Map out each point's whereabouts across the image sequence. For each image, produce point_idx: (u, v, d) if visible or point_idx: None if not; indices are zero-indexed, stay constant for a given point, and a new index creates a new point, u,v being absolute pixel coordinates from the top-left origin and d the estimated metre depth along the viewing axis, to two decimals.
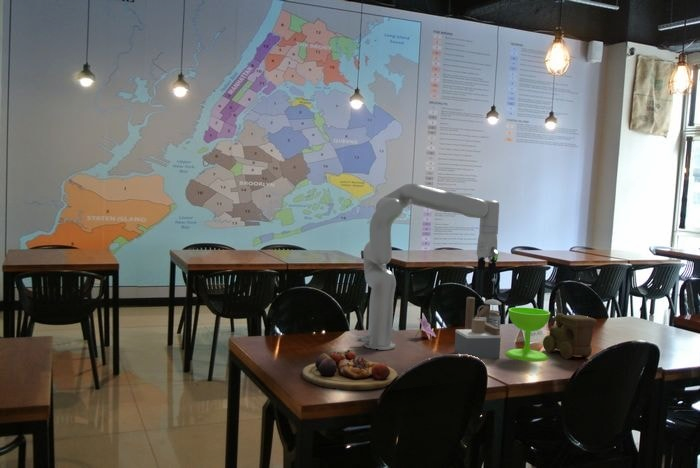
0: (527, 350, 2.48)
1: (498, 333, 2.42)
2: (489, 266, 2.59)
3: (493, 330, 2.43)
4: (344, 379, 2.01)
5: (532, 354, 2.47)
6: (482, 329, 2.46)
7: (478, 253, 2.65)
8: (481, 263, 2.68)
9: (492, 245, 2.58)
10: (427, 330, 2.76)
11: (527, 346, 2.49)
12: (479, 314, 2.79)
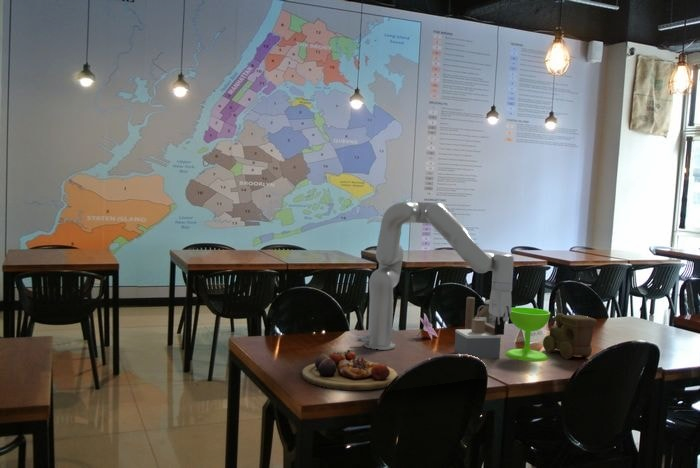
0: (527, 350, 2.48)
1: None
2: (497, 328, 2.40)
3: (493, 330, 2.44)
4: (344, 379, 2.00)
5: (532, 354, 2.47)
6: (482, 329, 2.46)
7: (490, 311, 2.42)
8: None
9: (506, 304, 2.35)
10: (429, 330, 2.76)
11: (527, 346, 2.49)
12: (479, 314, 2.79)
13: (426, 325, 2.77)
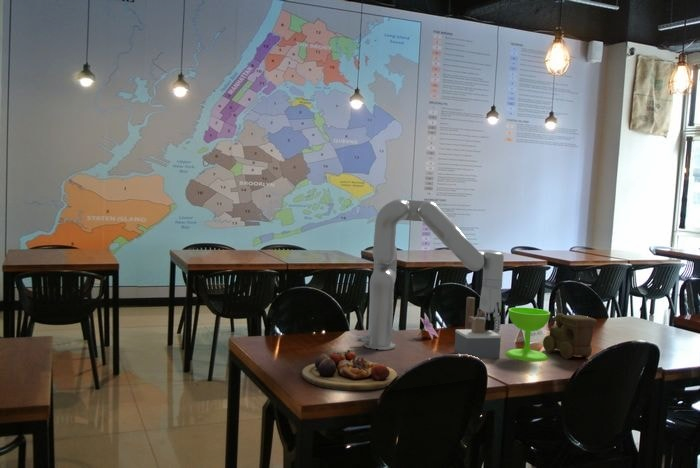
0: (527, 350, 2.48)
1: None
2: (487, 323, 2.48)
3: None
4: (343, 379, 2.00)
5: (532, 354, 2.47)
6: (482, 329, 2.46)
7: (481, 307, 2.50)
8: None
9: (496, 300, 2.43)
10: (430, 330, 2.76)
11: (527, 346, 2.49)
12: (479, 314, 2.79)
13: (427, 325, 2.77)
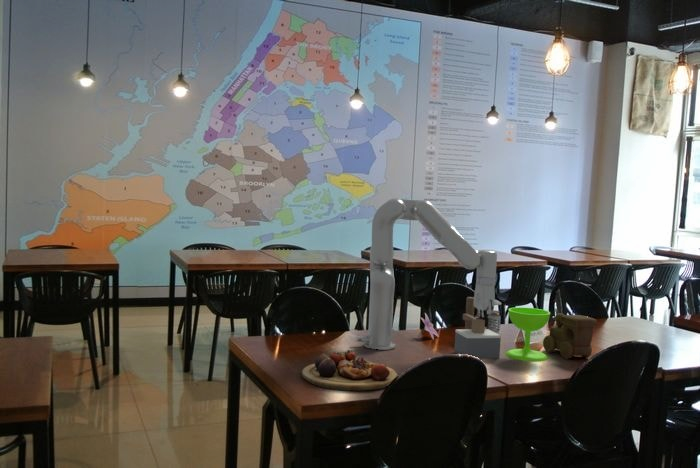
0: (527, 350, 2.48)
1: None
2: None
3: None
4: (343, 379, 2.00)
5: (532, 354, 2.47)
6: (482, 329, 2.46)
7: (475, 304, 2.55)
8: (483, 319, 2.54)
9: (489, 298, 2.48)
10: (430, 330, 2.76)
11: (527, 346, 2.49)
12: None
13: (427, 325, 2.77)
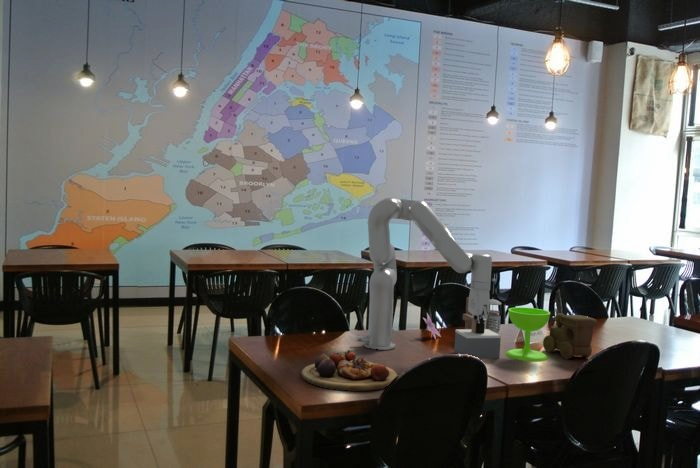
0: (527, 350, 2.48)
1: None
2: (477, 327, 2.45)
3: None
4: (343, 380, 2.00)
5: (532, 354, 2.47)
6: None
7: (469, 309, 2.49)
8: None
9: (484, 303, 2.42)
10: (432, 330, 2.76)
11: (527, 346, 2.49)
12: None
13: (429, 325, 2.78)
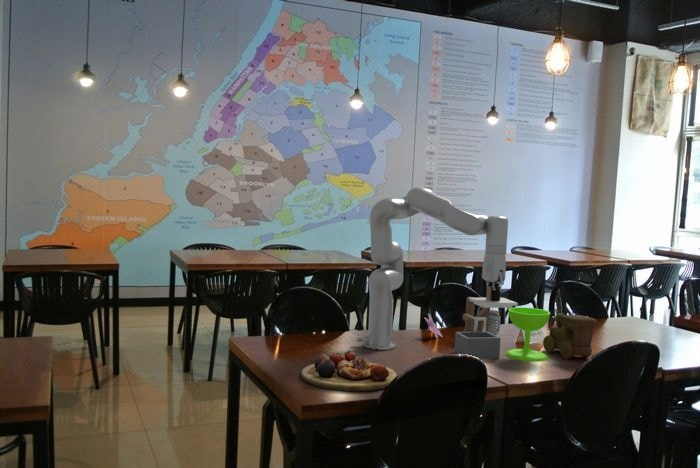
0: (527, 350, 2.48)
1: (482, 325, 2.56)
2: (492, 294, 2.29)
3: None
4: (342, 380, 2.00)
5: (532, 354, 2.47)
6: None
7: (484, 276, 2.33)
8: None
9: (500, 267, 2.26)
10: (434, 330, 2.77)
11: (527, 346, 2.49)
12: (479, 314, 2.79)
13: (431, 325, 2.78)
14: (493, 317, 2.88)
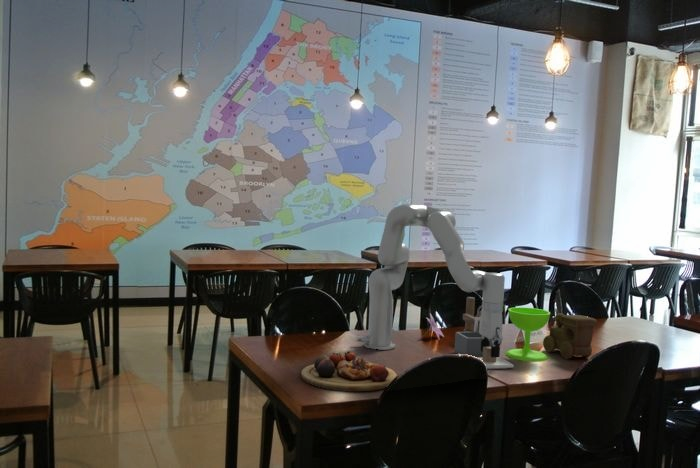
0: (527, 350, 2.48)
1: None
2: (492, 350, 2.28)
3: None
4: (342, 380, 1.99)
5: (532, 354, 2.47)
6: (494, 358, 2.32)
7: (480, 332, 2.34)
8: (485, 344, 2.36)
9: (497, 325, 2.27)
10: (435, 330, 2.77)
11: (527, 346, 2.49)
12: (479, 314, 2.79)
13: (432, 325, 2.78)
14: None
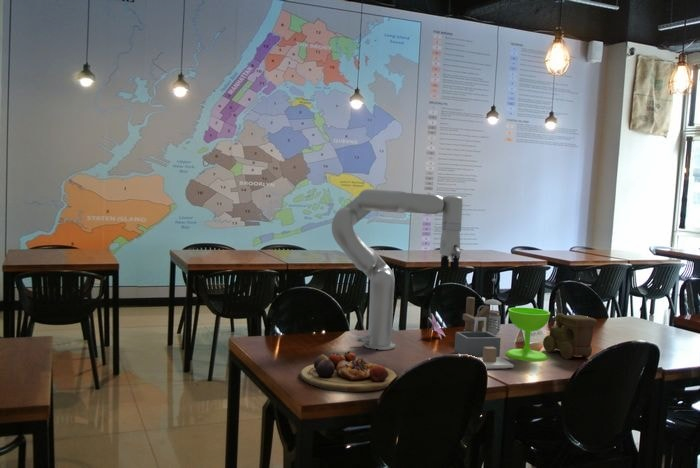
0: (527, 350, 2.48)
1: (482, 325, 2.56)
2: (451, 265, 2.46)
3: None
4: (341, 380, 1.99)
5: (532, 354, 2.47)
6: (494, 358, 2.32)
7: (441, 251, 2.53)
8: (444, 262, 2.55)
9: (454, 243, 2.46)
10: (437, 330, 2.77)
11: (527, 346, 2.49)
12: (479, 314, 2.79)
13: (434, 325, 2.78)
14: (493, 317, 2.88)
